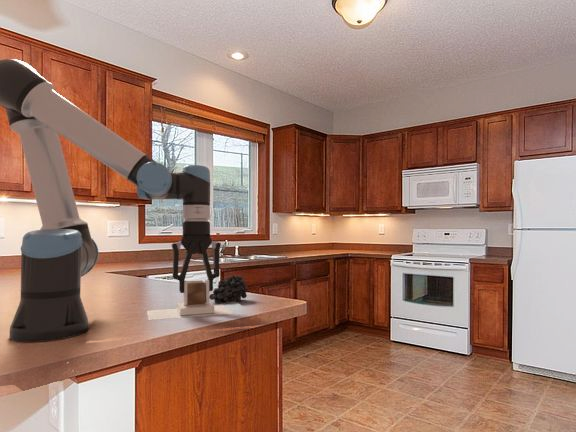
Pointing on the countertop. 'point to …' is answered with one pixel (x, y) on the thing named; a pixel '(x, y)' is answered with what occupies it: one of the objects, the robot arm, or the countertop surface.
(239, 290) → the fruit
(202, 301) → the walnut block
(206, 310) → the tile
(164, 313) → the mat
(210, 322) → the countertop surface
